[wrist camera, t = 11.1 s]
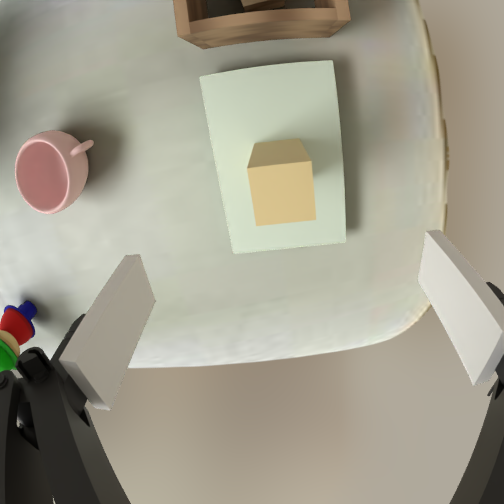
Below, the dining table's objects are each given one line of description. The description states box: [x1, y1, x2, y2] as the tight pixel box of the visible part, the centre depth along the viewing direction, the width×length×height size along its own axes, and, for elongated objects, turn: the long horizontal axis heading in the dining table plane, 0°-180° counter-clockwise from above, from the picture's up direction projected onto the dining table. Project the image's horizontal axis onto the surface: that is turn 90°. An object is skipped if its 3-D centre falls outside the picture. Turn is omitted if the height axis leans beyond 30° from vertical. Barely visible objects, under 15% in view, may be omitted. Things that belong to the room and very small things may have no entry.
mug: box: [15, 130, 94, 214], centre depth 31 cm, size 12×10×6 cm
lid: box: [199, 60, 346, 254], centre depth 28 cm, size 13×20×12 cm, turn 9°
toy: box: [0, 301, 37, 372], centre depth 42 cm, size 9×9×15 cm
